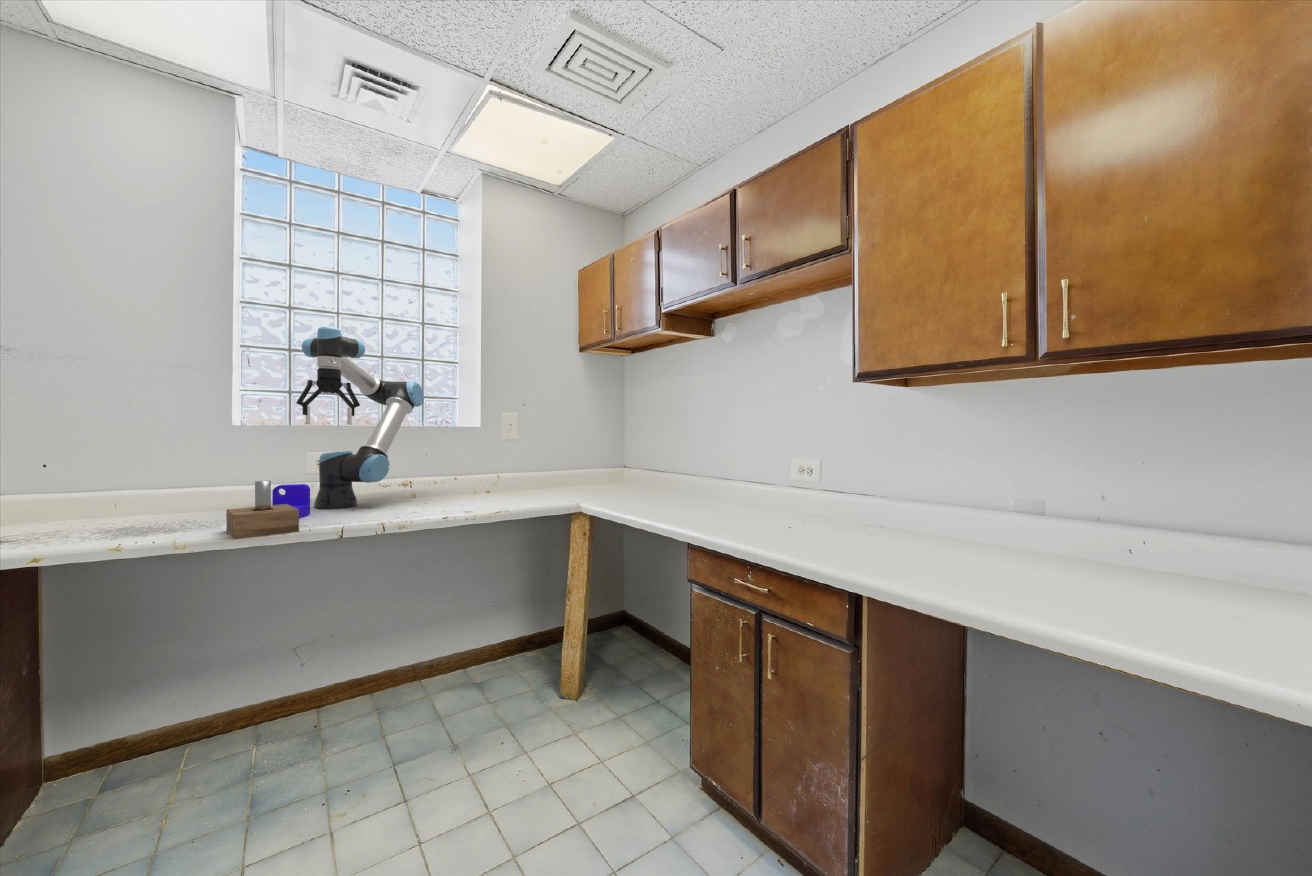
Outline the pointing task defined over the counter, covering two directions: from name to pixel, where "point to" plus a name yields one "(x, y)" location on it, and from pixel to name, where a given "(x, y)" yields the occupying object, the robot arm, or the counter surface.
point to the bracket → (293, 497)
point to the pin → (262, 495)
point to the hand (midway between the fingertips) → (329, 424)
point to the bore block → (262, 521)
